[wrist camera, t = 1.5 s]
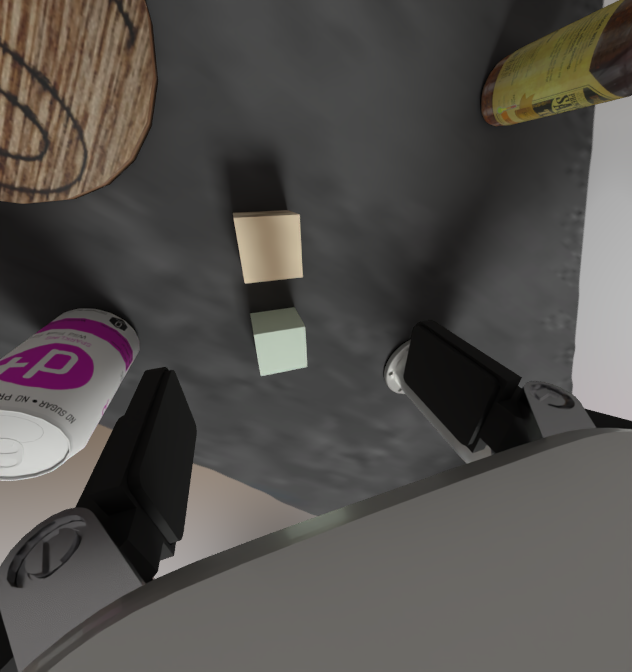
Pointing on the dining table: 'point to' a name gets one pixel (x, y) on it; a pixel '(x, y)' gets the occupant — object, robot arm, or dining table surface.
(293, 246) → the beech cube
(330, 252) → the dining table surface
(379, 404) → the dining table surface
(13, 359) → the supplement can
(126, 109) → the trivet
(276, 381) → the dining table surface
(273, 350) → the sage cube
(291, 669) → the robot arm
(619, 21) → the sauce bottle
